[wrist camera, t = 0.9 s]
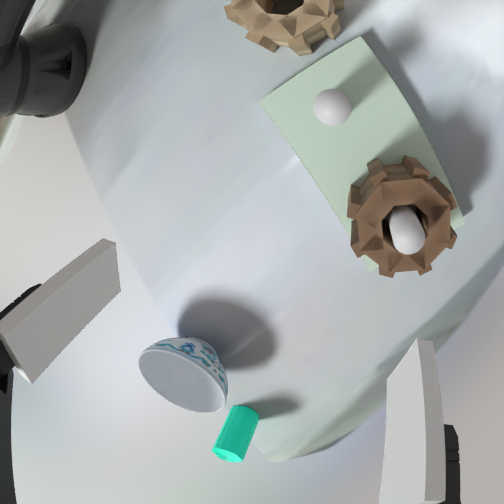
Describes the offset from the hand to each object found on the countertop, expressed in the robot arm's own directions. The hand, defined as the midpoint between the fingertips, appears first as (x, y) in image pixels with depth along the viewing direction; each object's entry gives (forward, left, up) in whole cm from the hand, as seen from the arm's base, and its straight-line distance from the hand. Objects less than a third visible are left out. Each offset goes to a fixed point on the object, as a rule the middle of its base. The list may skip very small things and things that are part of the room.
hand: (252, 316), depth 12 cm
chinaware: (+14, -31, -22) cm, 41 cm away
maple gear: (-15, +8, -22) cm, 28 cm away
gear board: (+1, +6, -22) cm, 23 cm away
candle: (+32, -35, -22) cm, 53 cm away
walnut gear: (+6, +6, -21) cm, 22 cm away
